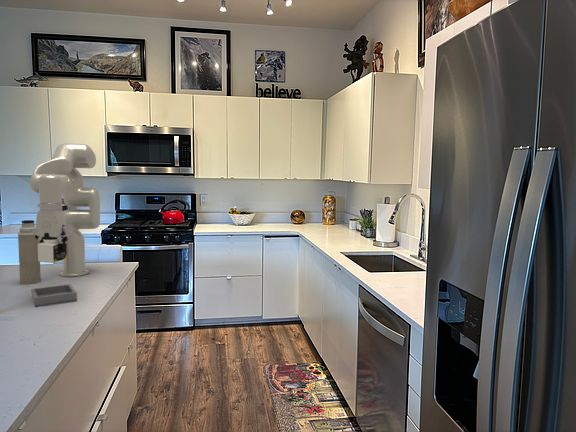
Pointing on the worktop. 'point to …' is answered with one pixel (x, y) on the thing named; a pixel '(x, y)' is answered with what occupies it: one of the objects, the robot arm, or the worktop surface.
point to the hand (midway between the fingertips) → (52, 252)
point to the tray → (53, 295)
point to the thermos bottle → (28, 254)
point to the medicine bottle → (50, 250)
